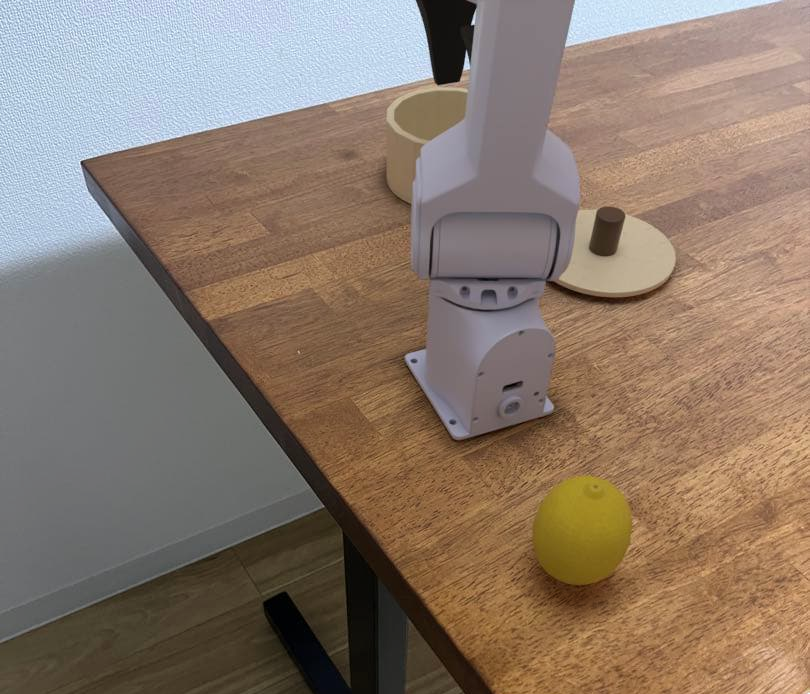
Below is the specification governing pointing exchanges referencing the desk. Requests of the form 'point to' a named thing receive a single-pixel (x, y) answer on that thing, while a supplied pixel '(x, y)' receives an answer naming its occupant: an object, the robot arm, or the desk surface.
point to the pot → (418, 130)
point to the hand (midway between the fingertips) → (466, 102)
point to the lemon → (582, 530)
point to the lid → (617, 255)
